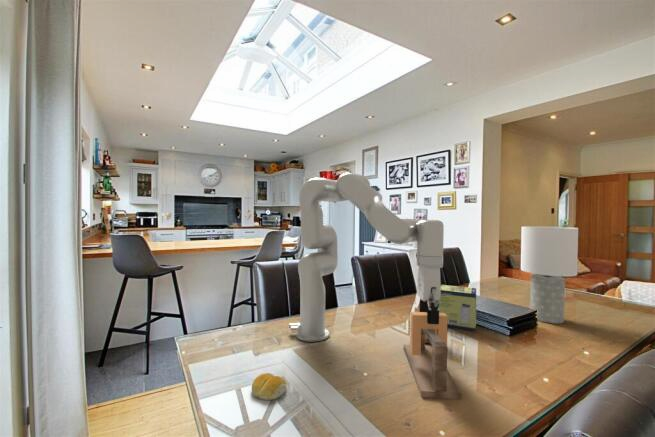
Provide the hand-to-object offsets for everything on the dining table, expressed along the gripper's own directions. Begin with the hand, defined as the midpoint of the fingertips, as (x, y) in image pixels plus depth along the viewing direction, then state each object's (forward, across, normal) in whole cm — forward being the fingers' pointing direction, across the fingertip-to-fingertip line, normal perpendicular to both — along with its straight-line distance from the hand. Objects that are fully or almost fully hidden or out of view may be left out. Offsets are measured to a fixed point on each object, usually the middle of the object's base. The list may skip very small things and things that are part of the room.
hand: (428, 317), depth 92 cm
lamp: (+16, -52, +65) cm, 84 cm away
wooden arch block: (+11, 0, 0) cm, 11 cm away
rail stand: (+16, 0, 0) cm, 16 cm away
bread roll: (+16, +15, -44) cm, 50 cm away
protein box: (+16, -40, +21) cm, 48 cm away
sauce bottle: (+16, -22, +5) cm, 28 cm away
